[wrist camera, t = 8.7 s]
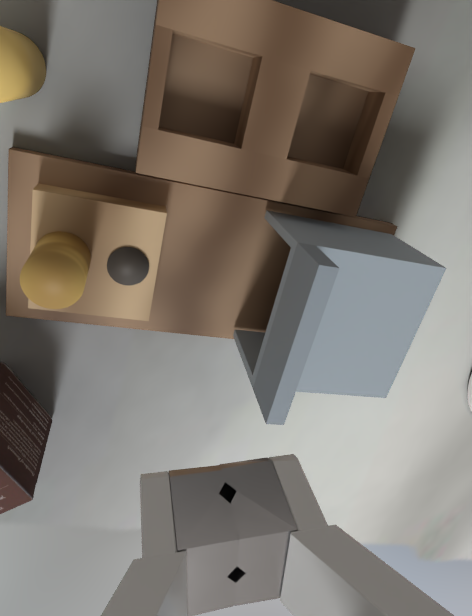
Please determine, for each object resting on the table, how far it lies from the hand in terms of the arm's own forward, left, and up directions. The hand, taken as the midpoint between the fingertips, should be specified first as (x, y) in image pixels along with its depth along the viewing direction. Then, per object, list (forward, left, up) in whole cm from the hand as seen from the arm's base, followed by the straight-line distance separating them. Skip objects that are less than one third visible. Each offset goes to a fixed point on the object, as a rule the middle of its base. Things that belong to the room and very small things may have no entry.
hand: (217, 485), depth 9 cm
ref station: (-4, +3, -21) cm, 22 cm away
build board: (-5, -7, -21) cm, 23 cm away
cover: (-11, +3, -20) cm, 23 cm away
